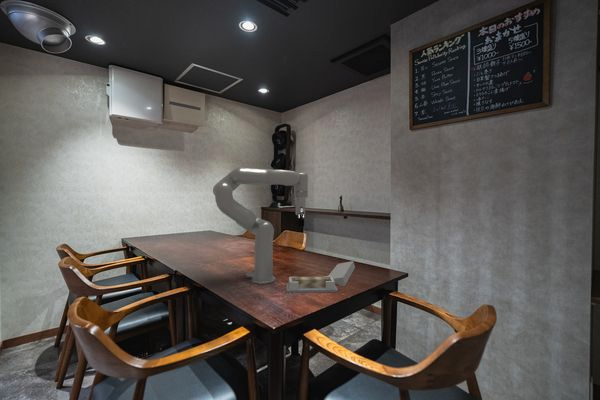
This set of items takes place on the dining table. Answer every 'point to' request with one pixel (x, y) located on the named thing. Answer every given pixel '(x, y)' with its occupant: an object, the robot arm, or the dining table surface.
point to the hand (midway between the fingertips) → (300, 225)
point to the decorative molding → (342, 273)
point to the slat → (311, 282)
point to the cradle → (293, 288)
